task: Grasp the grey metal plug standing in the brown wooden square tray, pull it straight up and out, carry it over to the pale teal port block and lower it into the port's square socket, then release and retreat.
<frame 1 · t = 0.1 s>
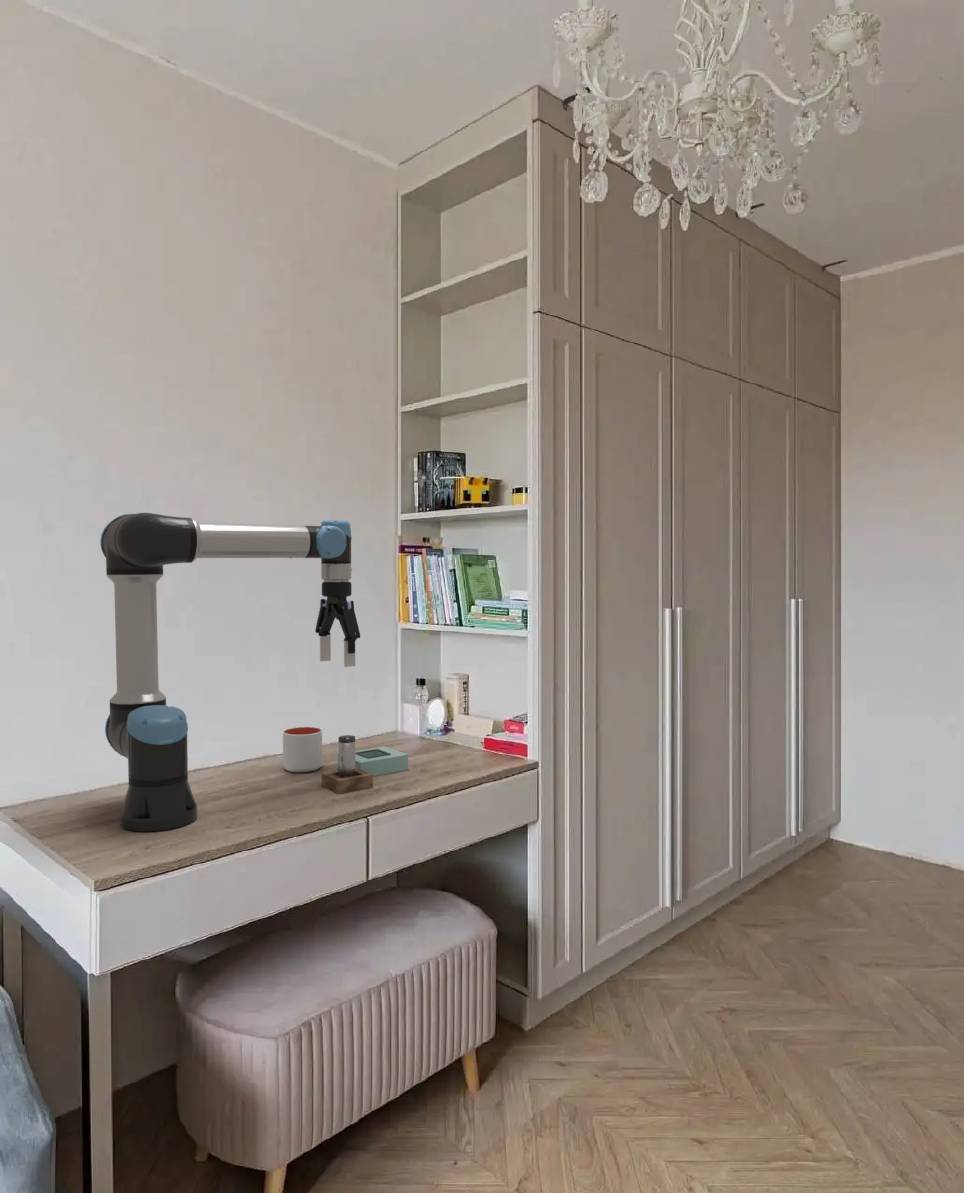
hand: (337, 663, 216), 28 cm above the table, fingers open, 13 cm apart
plug: (347, 761, 203), in the brown wooden square tray
port: (372, 769, 219), on the table
cup: (302, 769, 220), on the table
brown wooden square tray: (347, 786, 203), on the table
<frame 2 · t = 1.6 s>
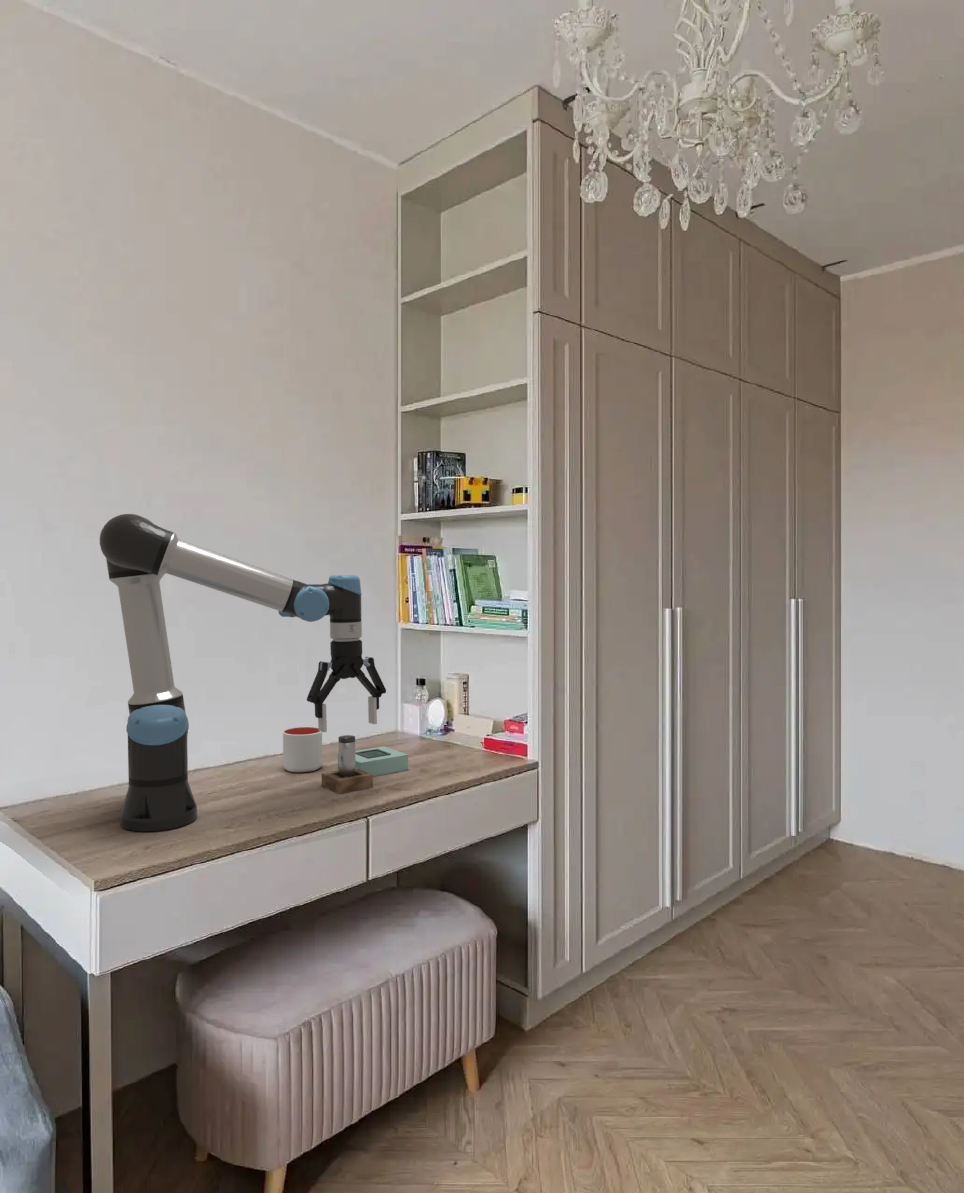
hand: (348, 727, 202), 14 cm above the table, fingers open, 13 cm apart
nothing on the table moved.
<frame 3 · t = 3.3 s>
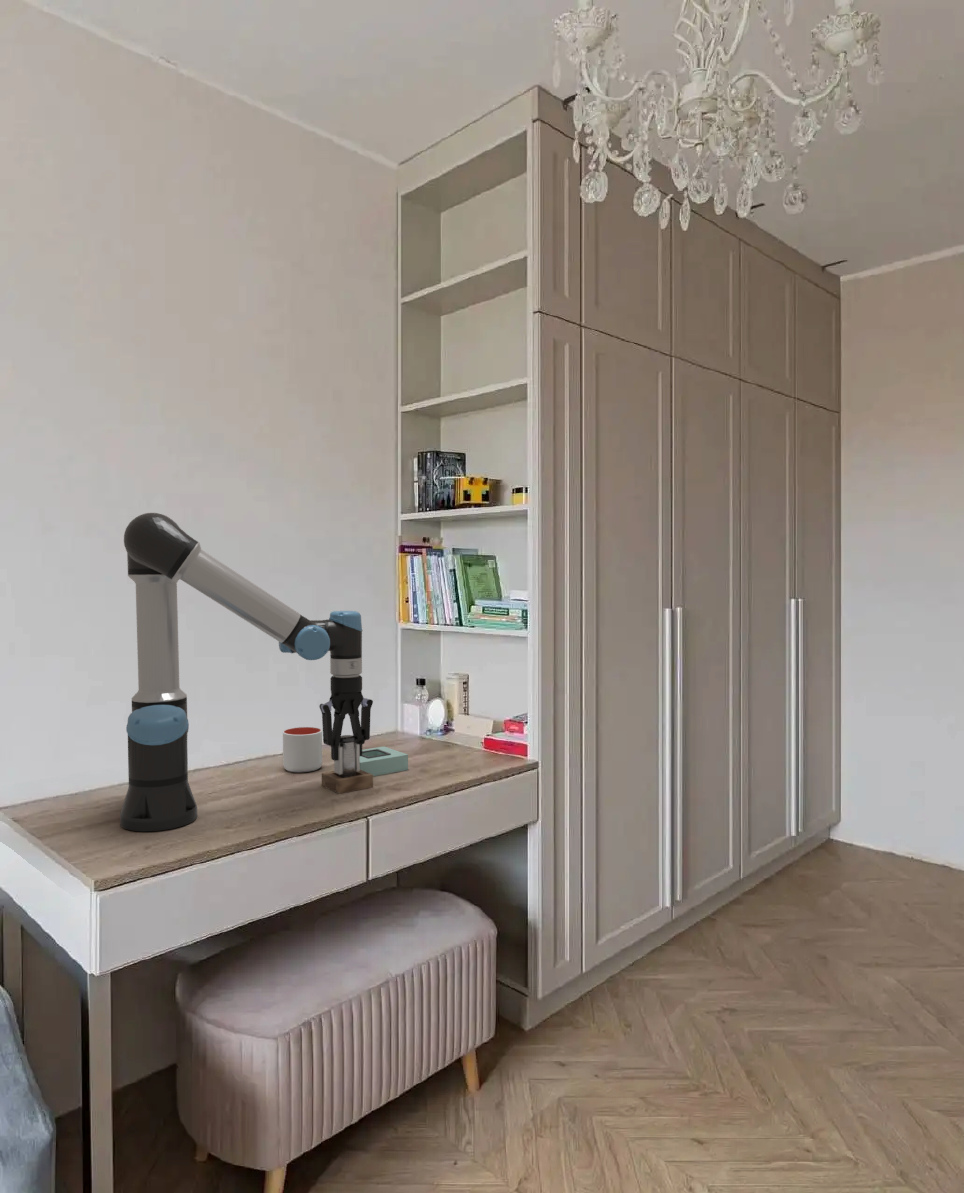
hand: (347, 771, 203), 4 cm above the table, fingers closed on plug, 4 cm apart
plug: (346, 761, 203), in the brown wooden square tray, touching gripper
everything else where it was.
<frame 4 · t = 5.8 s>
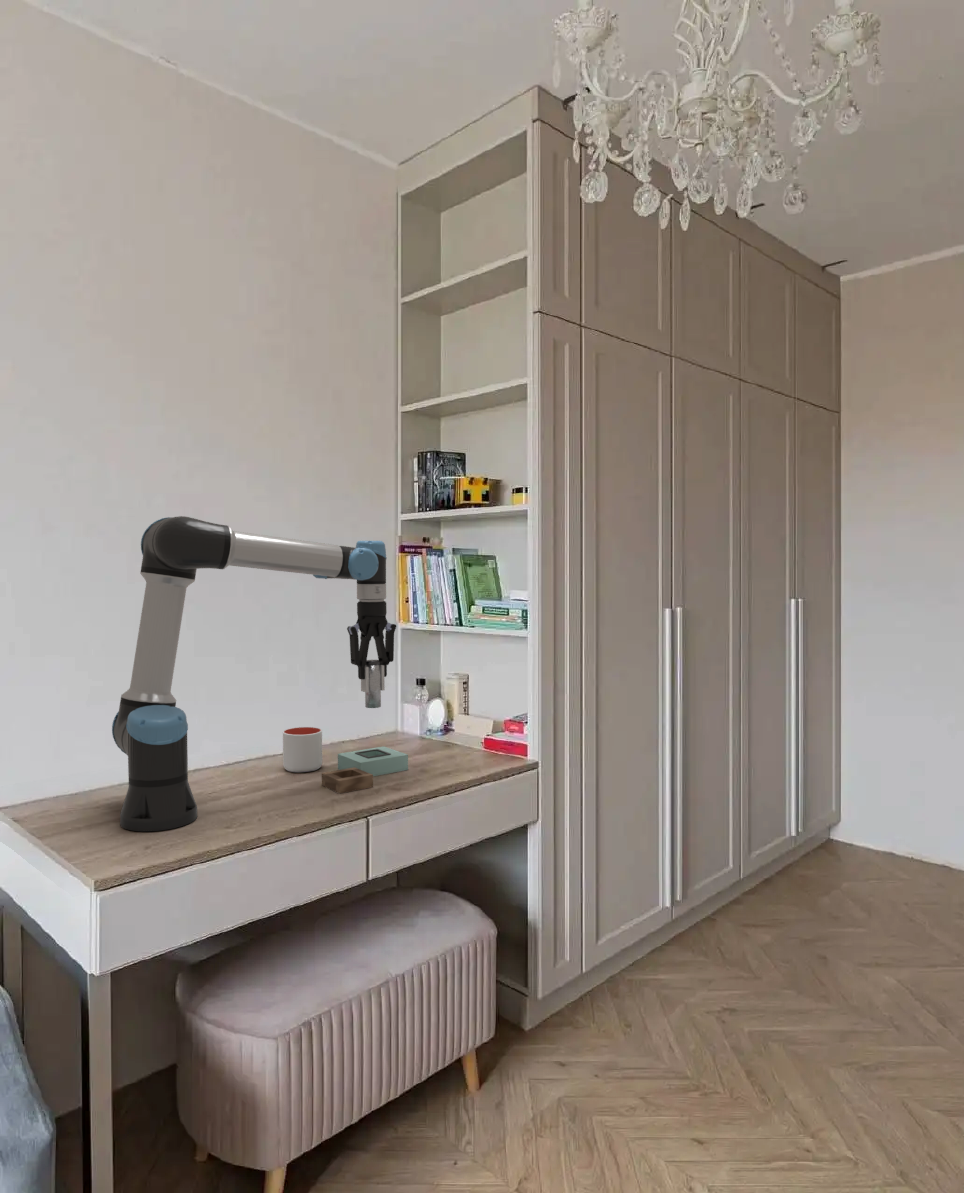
hand: (372, 690, 218), 21 cm above the table, fingers closed on plug, 4 cm apart
plug: (372, 683, 217), point 22 cm above the table, touching gripper
everything else where it was.
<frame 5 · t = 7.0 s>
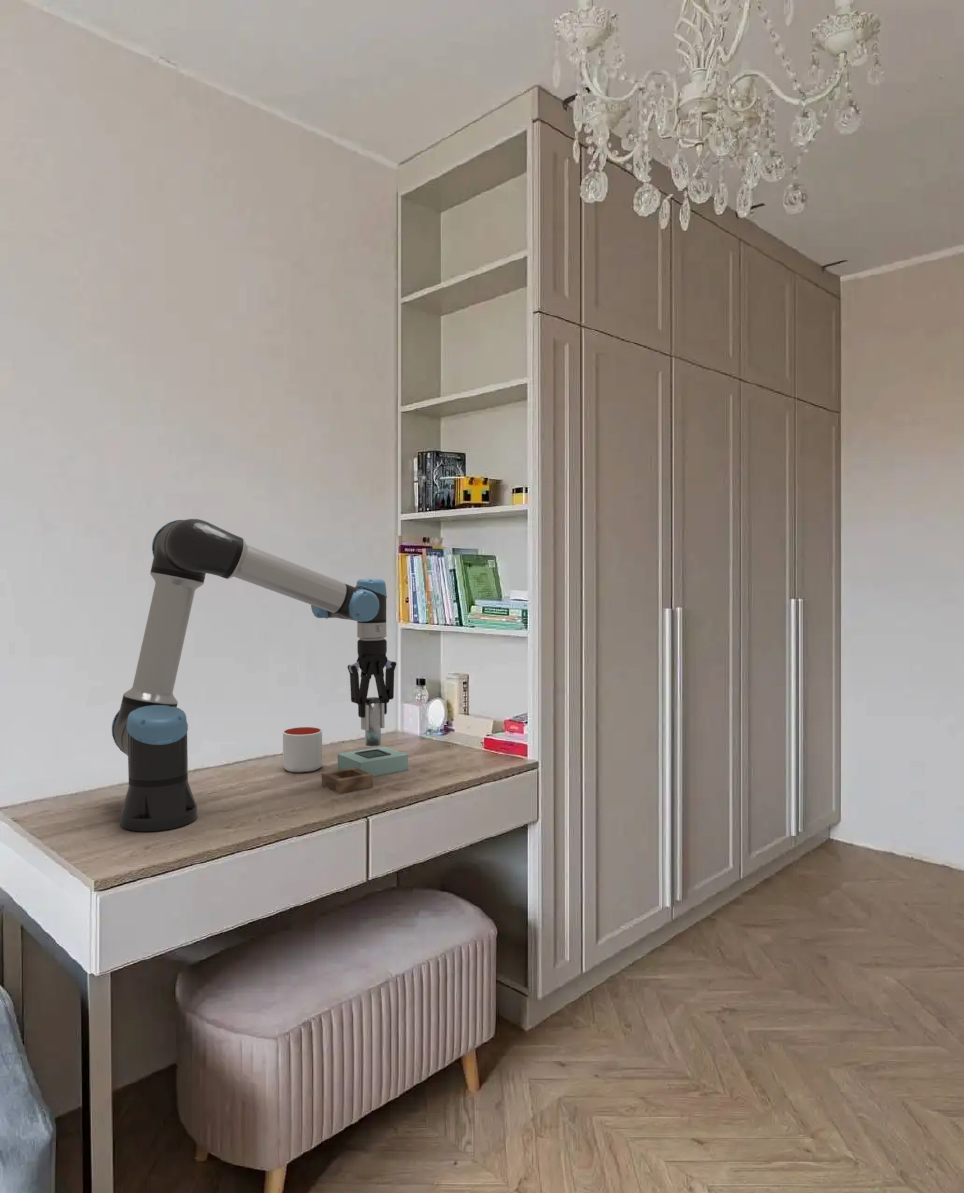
hand: (372, 728, 218), 11 cm above the table, fingers closed on plug, 4 cm apart
plug: (372, 721, 218), point 13 cm above the table, touching gripper
everything else where it was.
when the fingers open (6 cm above the table, at t = 8.3 s): plug drops 1 cm, resting in port.
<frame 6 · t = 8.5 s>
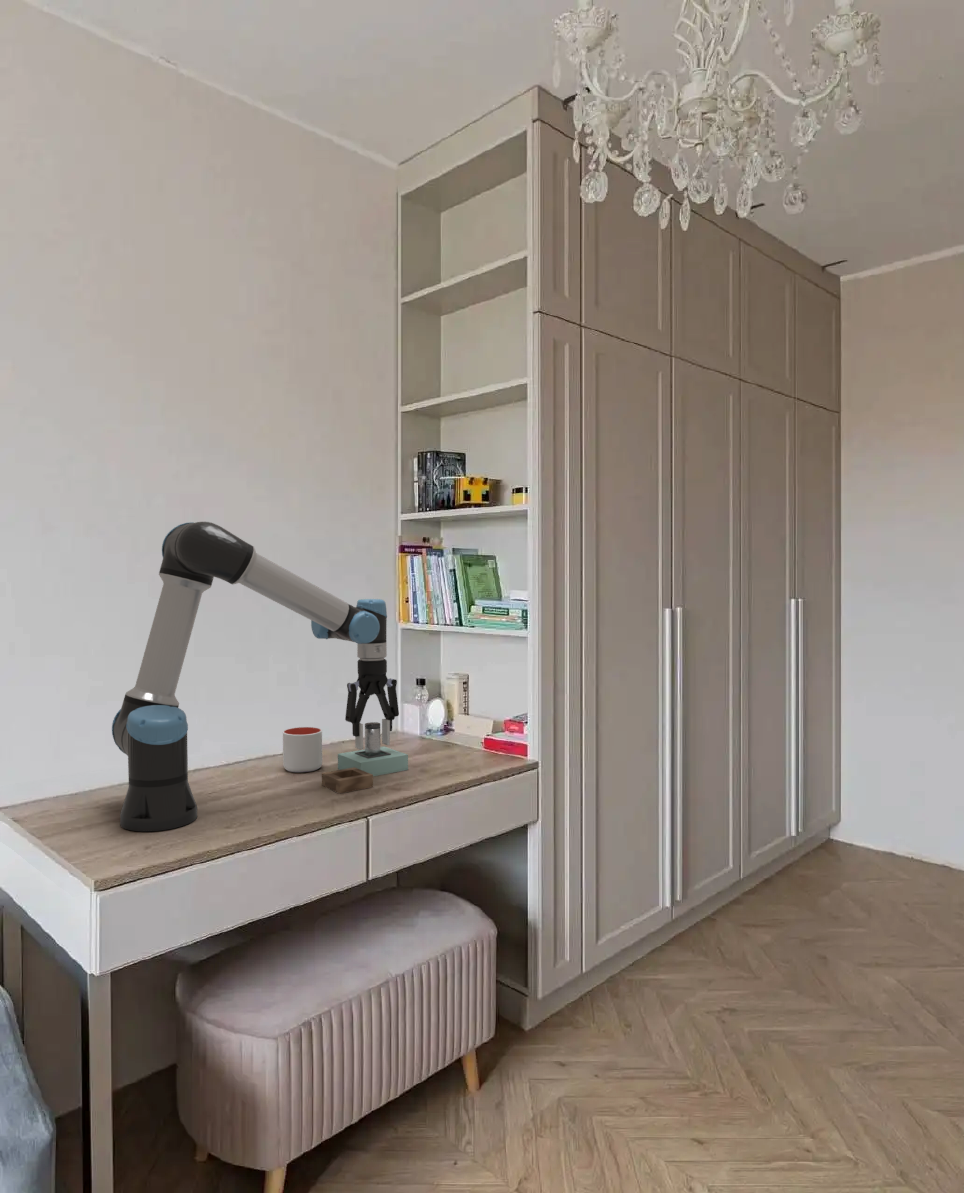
hand: (372, 746, 218), 6 cm above the table, fingers open, 7 cm apart
plug: (372, 746, 218), in the port
everything else where it was.
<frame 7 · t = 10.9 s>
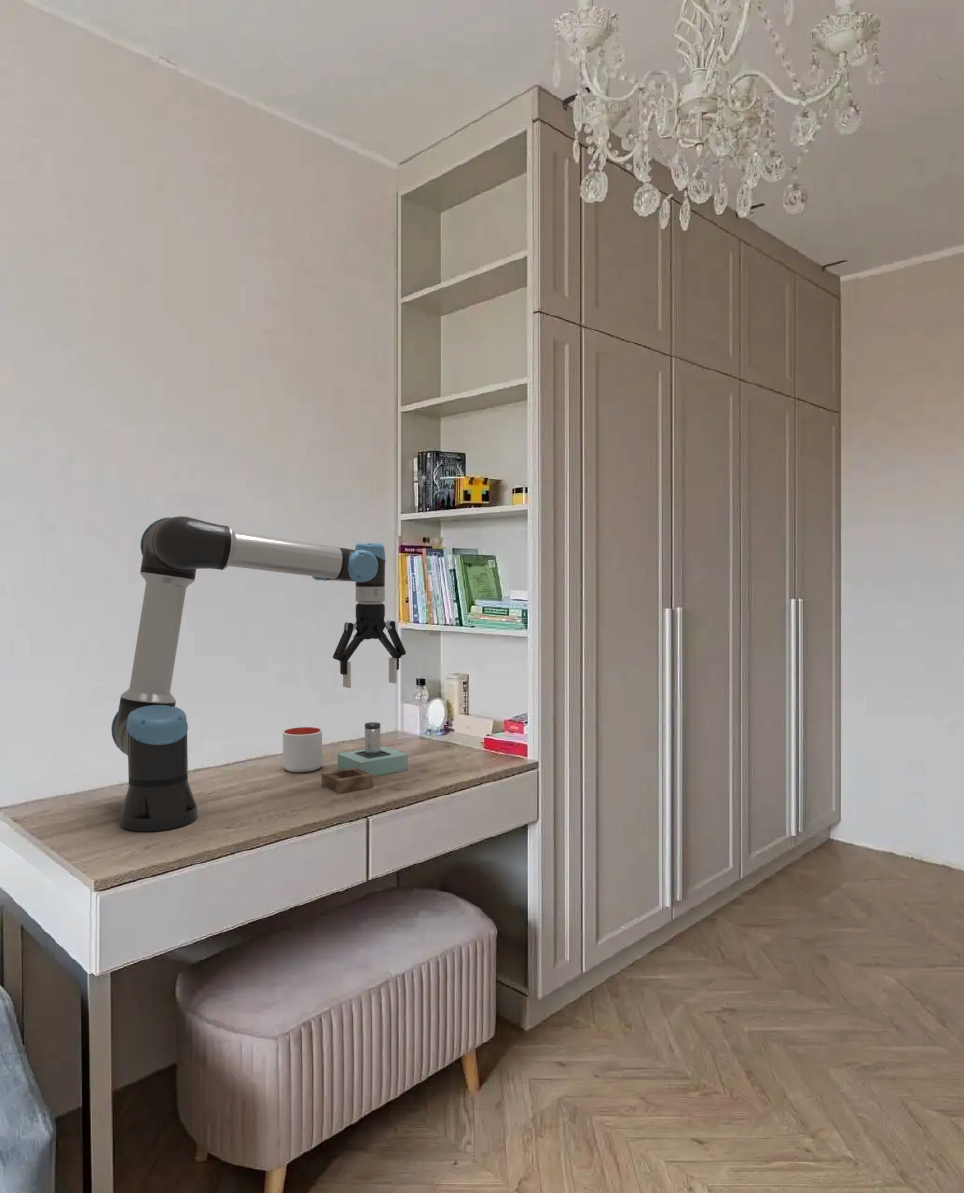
hand: (370, 685, 217), 22 cm above the table, fingers open, 13 cm apart
nothing on the table moved.
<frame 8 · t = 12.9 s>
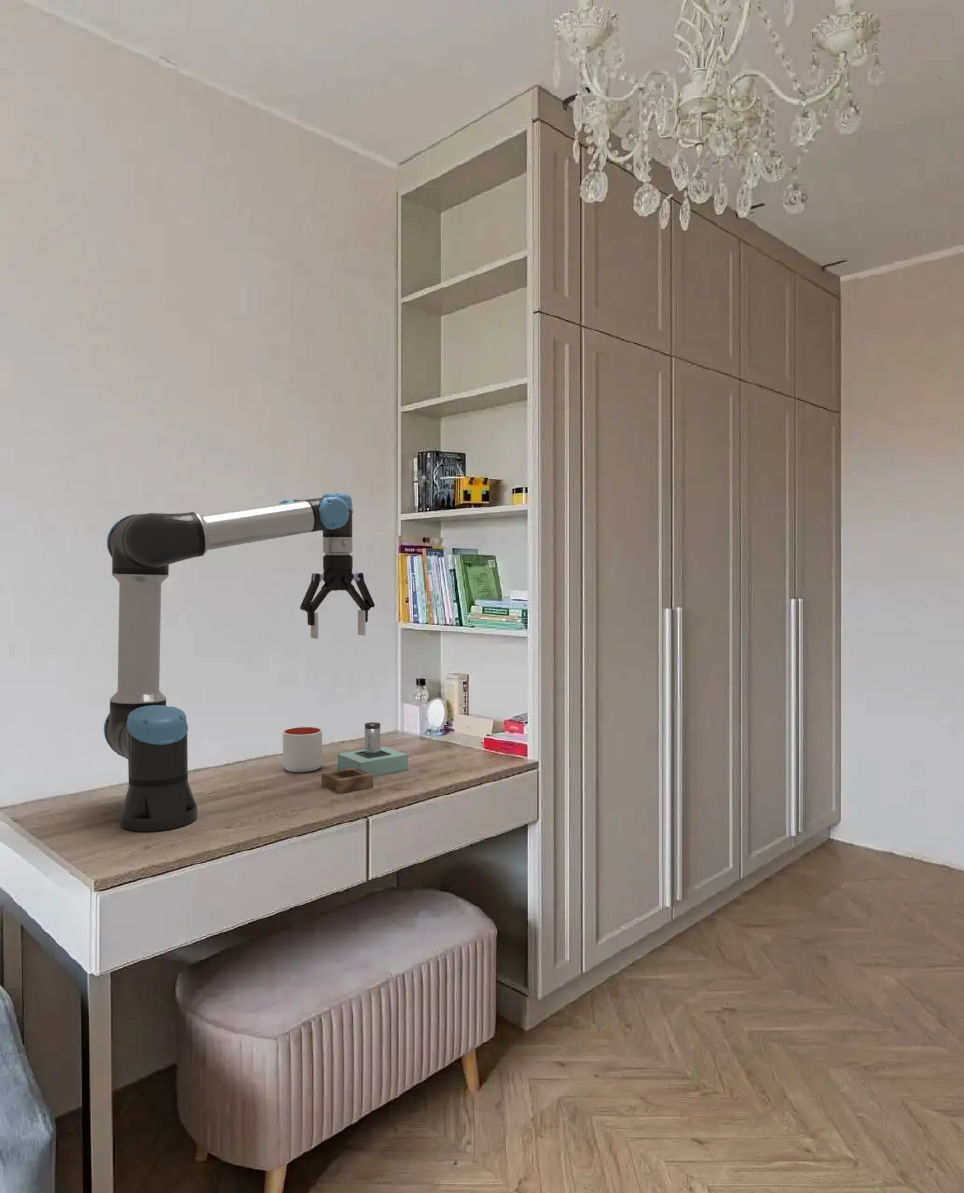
hand: (338, 636, 217), 35 cm above the table, fingers open, 13 cm apart
nothing on the table moved.
at the end: plug 0.0 cm off-centre on the port, point 6.0 cm above the port's base; plug tilted 0°; the gripper is holding nothing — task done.
